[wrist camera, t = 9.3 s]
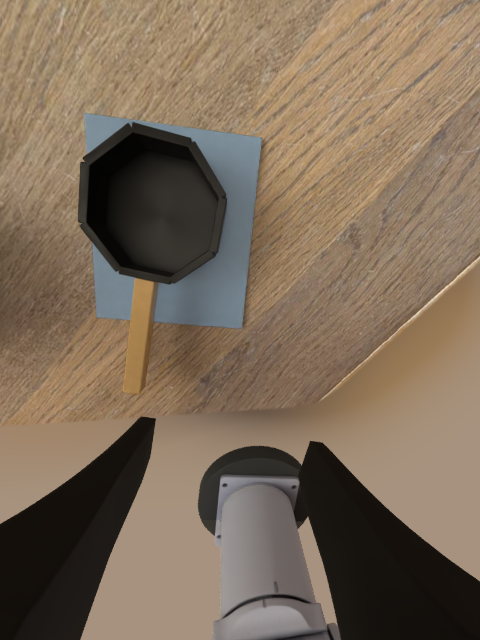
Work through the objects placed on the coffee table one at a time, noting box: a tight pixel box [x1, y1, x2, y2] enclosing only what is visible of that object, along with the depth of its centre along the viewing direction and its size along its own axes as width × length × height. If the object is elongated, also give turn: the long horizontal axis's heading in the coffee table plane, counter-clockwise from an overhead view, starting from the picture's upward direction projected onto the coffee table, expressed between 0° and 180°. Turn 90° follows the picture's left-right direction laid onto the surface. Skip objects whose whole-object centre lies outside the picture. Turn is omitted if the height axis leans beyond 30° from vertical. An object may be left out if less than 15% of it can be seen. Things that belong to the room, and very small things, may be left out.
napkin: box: [85, 113, 262, 329], centre depth 17 cm, size 13×11×1 cm
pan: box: [78, 122, 227, 395], centre depth 16 cm, size 16×8×3 cm, turn 168°
